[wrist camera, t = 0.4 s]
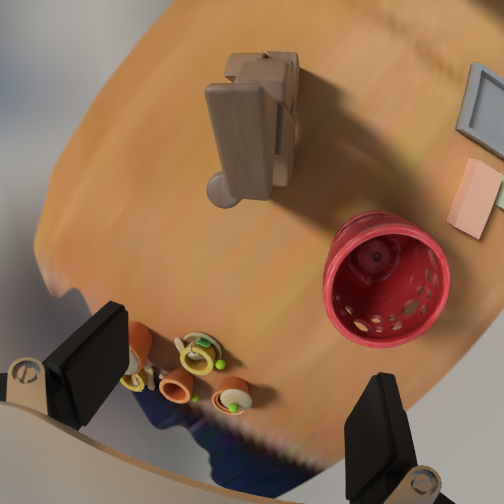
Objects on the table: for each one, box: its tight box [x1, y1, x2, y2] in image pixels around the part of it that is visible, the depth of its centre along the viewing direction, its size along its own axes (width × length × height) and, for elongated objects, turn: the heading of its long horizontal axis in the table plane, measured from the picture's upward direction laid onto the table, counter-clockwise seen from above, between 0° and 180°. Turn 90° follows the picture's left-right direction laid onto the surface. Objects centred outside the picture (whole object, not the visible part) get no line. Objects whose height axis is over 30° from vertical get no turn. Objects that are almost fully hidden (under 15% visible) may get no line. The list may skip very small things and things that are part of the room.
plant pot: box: [323, 211, 451, 348], centre depth 33 cm, size 13×13×12 cm
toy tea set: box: [120, 321, 252, 415], centre depth 46 cm, size 26×16×10 cm, turn 89°
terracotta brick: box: [446, 158, 503, 239], centre depth 32 cm, size 9×4×3 cm, turn 163°
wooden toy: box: [205, 51, 300, 209], centre depth 24 cm, size 16×7×25 cm, turn 177°
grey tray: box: [455, 62, 504, 160], centre depth 28 cm, size 10×10×2 cm
